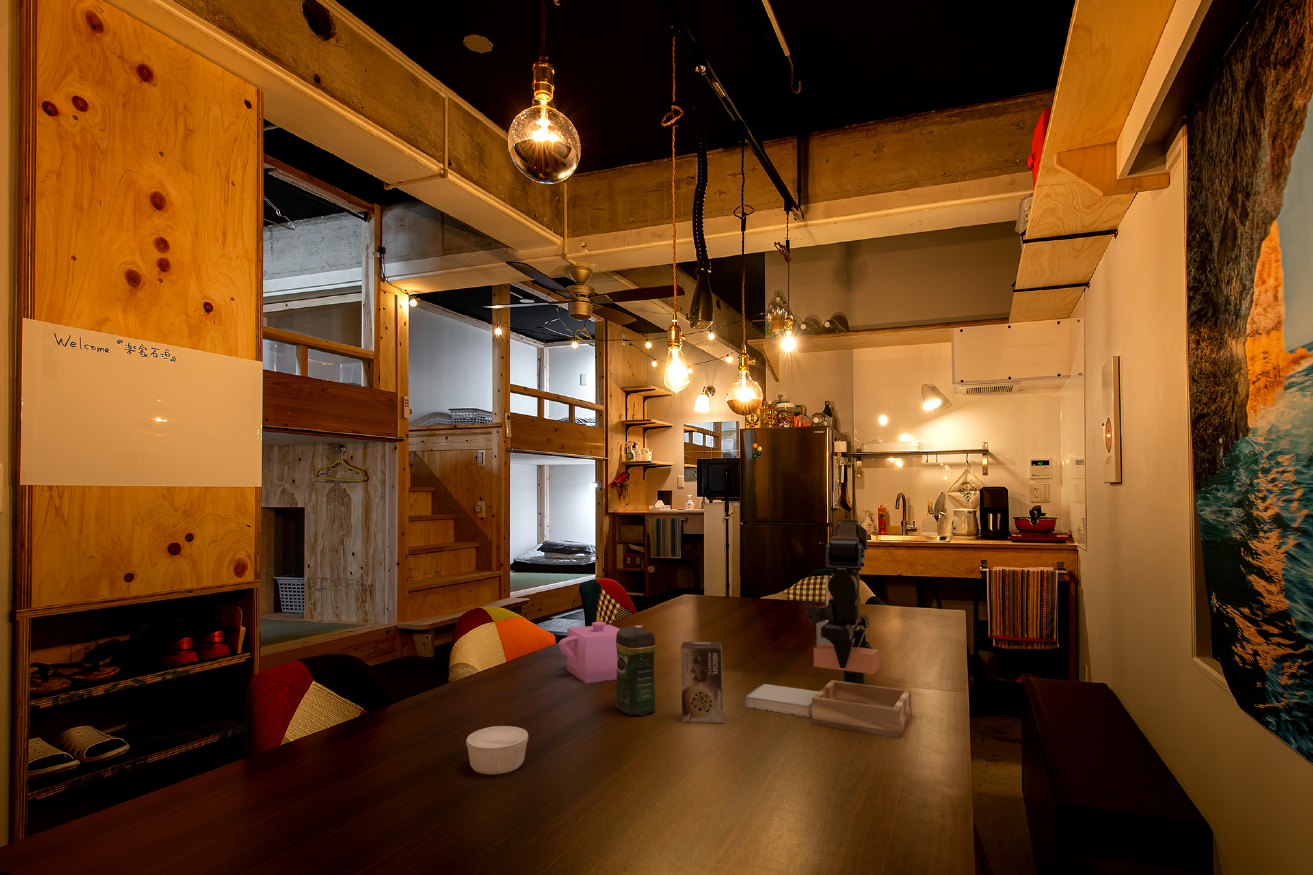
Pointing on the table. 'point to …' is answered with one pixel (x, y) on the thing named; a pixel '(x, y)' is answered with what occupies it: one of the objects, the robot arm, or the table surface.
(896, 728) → the shelf tray
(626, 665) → the coffee jar
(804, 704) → the book pile base
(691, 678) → the coffee box
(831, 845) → the table surface
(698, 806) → the table surface
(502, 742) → the ramekin
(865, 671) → the terracotta rectangular block
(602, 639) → the teapot
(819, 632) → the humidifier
